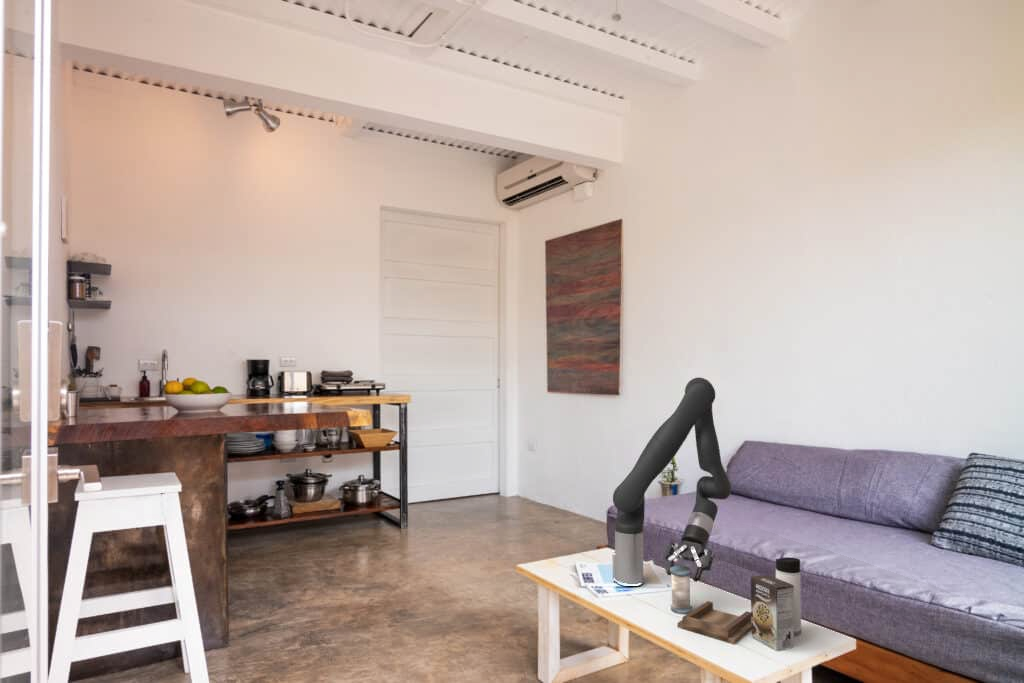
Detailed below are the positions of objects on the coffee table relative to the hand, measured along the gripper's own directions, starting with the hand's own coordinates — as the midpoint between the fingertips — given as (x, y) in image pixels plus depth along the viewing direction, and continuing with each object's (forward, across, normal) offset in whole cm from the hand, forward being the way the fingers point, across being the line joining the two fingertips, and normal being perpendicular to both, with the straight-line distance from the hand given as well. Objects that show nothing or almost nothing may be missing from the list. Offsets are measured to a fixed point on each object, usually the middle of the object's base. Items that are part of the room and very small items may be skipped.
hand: (681, 577), depth 189 cm
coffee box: (+10, +28, +4) cm, 30 cm away
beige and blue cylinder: (+7, 0, +7) cm, 10 cm away
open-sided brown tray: (+10, +13, +4) cm, 17 cm away
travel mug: (+3, +29, +11) cm, 31 cm away
